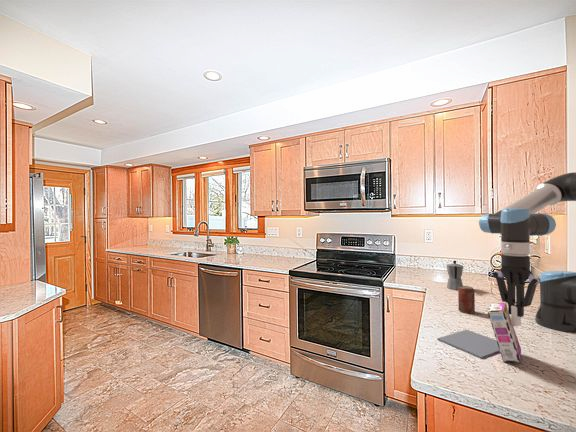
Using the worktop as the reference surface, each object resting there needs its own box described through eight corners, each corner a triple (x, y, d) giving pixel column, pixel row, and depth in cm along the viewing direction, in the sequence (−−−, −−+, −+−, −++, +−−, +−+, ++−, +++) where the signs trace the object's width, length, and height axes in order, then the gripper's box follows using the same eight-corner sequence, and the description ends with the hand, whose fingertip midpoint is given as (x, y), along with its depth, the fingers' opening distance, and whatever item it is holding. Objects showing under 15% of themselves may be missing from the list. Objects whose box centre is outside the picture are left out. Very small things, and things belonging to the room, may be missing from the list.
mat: (466, 331, 120) (466, 329, 120) (511, 347, 105) (511, 345, 105) (437, 339, 112) (437, 338, 112) (481, 358, 97) (481, 357, 97)
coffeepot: (446, 285, 194) (445, 258, 194) (462, 286, 190) (462, 259, 190) (447, 291, 180) (447, 262, 180) (465, 292, 176) (464, 263, 176)
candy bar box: (522, 362, 91) (503, 310, 94) (503, 362, 94) (486, 311, 97) (522, 349, 100) (505, 301, 103) (505, 349, 103) (489, 303, 106)
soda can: (460, 308, 148) (460, 284, 148) (476, 311, 143) (476, 287, 143) (456, 311, 143) (456, 287, 143) (472, 314, 138) (472, 289, 138)
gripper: (487, 253, 100) (488, 320, 100) (532, 257, 89) (533, 334, 89) (500, 251, 104) (501, 317, 104) (545, 256, 92) (546, 329, 92)
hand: (516, 325), depth 96 cm, fingers closed
